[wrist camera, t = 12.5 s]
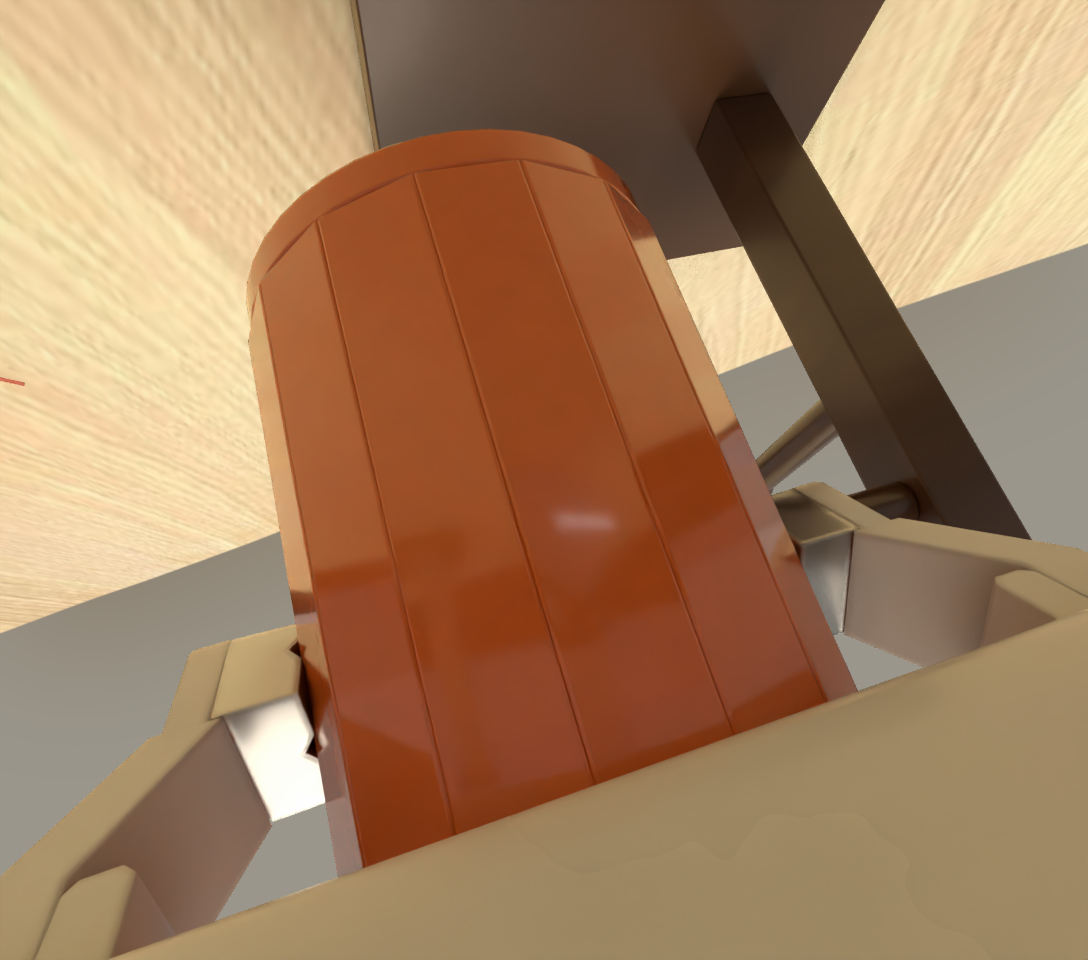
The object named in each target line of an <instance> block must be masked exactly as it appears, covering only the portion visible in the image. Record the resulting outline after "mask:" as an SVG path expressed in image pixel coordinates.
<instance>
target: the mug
mask: <svg viewBox="0 0 1088 960" xmlns="http://www.w3.org/2000/svg"><path fill="white" fill-rule="evenodd" d="M246 304H247V310H248V316H249V322H250V327H251V329H250V334H249V340H248V343H249V349H250V355H251V361H252V367H253V373H254V379H255V385H256V391H257V397H258V403H259V409H260V415H261V421H262V427H263V433H264V439H265V444H266V450H267V456H268V462H269V468H270V474H271V480H272V486H273V492H274V498H275V504H276V510H277V516H278V522H279V528H280V534H281V540H282V546H283V552H284V558H285V564H286V570H287V575H288V582H289V588H290V593H291V600H292V605H293V612H294V618H295V624H296V630H297V636H298V642H299V648H300V654H301V659H302V662H303V668H304V673H305V679H306V685H307V691H308V697H309V703H310V709H311V715H312V721H313V727H314V738H315V744H316V749H317V755H318V761H319V767H320V773H321V779H322V785H323V791H324V797H325V803H326V809H327V815H328V821H329V827H330V833H331V839H332V845H333V851H334V857H335V863H336V869H337V875H338V877H340V876H343V875H346V874H348V873H351V872H354V871H357V870H360V869H362V868H365V867H368V866H371V865H374V864H376V863H379V862H382V861H385V860H388V859H390V858H393V857H396V856H399V855H402V854H404V853H407V852H410V851H413V850H416V849H418V848H421V847H424V846H427V845H430V844H432V843H435V842H438V841H441V840H444V839H446V838H449V837H452V836H455V835H458V834H460V833H463V832H466V831H469V830H472V829H474V828H477V827H480V826H483V825H486V824H488V823H491V822H494V821H497V820H500V819H502V818H505V817H508V816H511V815H514V814H516V813H519V812H522V811H525V810H528V809H530V808H533V807H536V806H539V805H541V804H544V803H547V802H550V801H553V800H555V799H558V798H561V797H564V796H566V795H569V794H572V793H575V792H578V791H580V790H583V789H586V788H589V787H592V786H594V785H597V784H600V783H603V782H605V781H608V780H611V779H614V778H617V777H619V776H622V775H625V774H628V773H630V772H633V771H636V770H639V769H642V768H644V767H647V766H650V765H653V764H656V763H658V762H661V761H664V760H667V759H669V758H672V757H675V756H678V755H681V754H683V753H686V752H689V751H692V750H694V749H697V748H700V747H703V746H706V745H708V744H711V743H714V742H717V741H719V740H722V739H725V738H728V737H731V736H733V735H736V734H739V733H742V732H745V731H747V730H750V729H753V728H756V727H758V726H761V725H764V724H767V723H770V722H772V721H775V720H778V719H781V718H784V717H786V716H789V715H792V714H795V713H798V712H801V711H803V710H806V709H809V708H812V707H815V706H817V705H820V704H823V703H826V702H829V701H831V700H834V699H837V698H840V697H843V696H845V695H848V694H851V693H854V692H857V691H858V690H857V688H856V685H855V683H854V681H853V679H852V677H851V674H850V672H849V670H848V667H847V665H846V663H845V661H844V659H843V656H842V654H841V652H840V650H839V647H838V645H837V643H836V640H835V638H834V636H833V634H832V631H831V629H830V627H829V625H828V622H827V620H826V618H825V616H824V613H823V611H822V609H821V607H820V604H819V602H818V600H817V598H816V595H815V593H814V591H813V589H812V586H811V584H810V582H809V580H808V577H807V575H806V573H805V571H804V568H803V566H802V564H801V562H800V559H799V557H798V555H797V553H796V550H795V548H794V546H793V544H792V541H791V539H790V537H789V535H788V532H787V530H786V528H785V526H784V523H783V521H782V519H781V517H780V514H779V512H778V510H777V508H776V505H775V503H774V501H773V499H772V496H771V494H770V492H769V490H768V487H767V485H766V483H765V481H764V478H763V476H762V474H761V472H760V469H759V467H758V465H757V463H756V460H755V458H754V456H753V454H752V451H751V449H750V447H749V445H748V442H747V440H746V438H745V436H744V433H743V431H742V429H741V427H740V425H739V422H738V420H737V418H736V415H735V413H734V411H733V409H732V407H731V404H730V402H729V400H728V398H727V395H726V393H725V391H724V388H723V386H722V384H721V382H720V379H719V377H718V375H717V373H716V370H715V368H714V366H713V364H712V361H711V359H710V357H709V355H708V352H707V350H706V348H705V346H704V343H703V341H702V339H701V337H700V334H699V332H698V330H697V328H696V325H695V323H694V321H693V319H692V316H691V314H690V312H689V310H688V307H687V305H686V303H685V301H684V298H683V296H682V294H681V292H680V289H679V287H678V285H677V283H676V280H675V278H674V276H673V274H672V271H671V269H670V267H669V265H668V262H667V260H666V258H665V255H664V253H663V251H662V249H661V246H660V244H659V242H658V240H657V237H656V235H655V233H654V231H653V228H652V226H651V224H650V222H649V220H648V219H647V218H646V217H645V216H643V215H642V213H641V211H640V208H639V206H638V204H637V202H636V200H635V198H634V196H633V194H632V193H631V191H630V189H629V187H628V186H627V185H626V184H625V182H624V181H623V180H622V179H621V178H620V176H619V175H618V174H617V173H616V172H615V171H614V170H613V169H611V168H610V167H609V166H608V165H606V164H605V163H604V162H603V161H601V160H600V159H599V158H598V157H596V156H594V155H592V154H590V153H589V152H587V151H585V150H583V149H581V148H579V147H578V146H576V145H573V144H570V143H568V142H565V141H562V140H559V139H556V138H553V137H551V136H546V135H541V134H536V133H531V132H526V131H521V130H505V129H490V128H488V129H470V130H454V131H449V132H443V133H437V134H432V135H426V136H420V137H417V138H414V139H410V140H407V141H403V142H400V143H397V144H393V145H390V146H387V147H384V148H382V149H379V150H377V151H375V152H372V153H370V154H368V155H365V156H363V157H361V158H358V159H356V160H354V161H352V162H350V163H349V164H347V165H345V166H343V167H342V168H340V169H338V170H336V171H335V172H333V173H331V174H329V175H328V176H326V177H325V178H323V179H322V180H321V181H319V182H318V183H317V184H315V185H314V186H313V187H311V188H310V189H309V190H307V191H306V192H305V193H303V194H302V195H301V196H300V197H299V198H298V199H297V200H296V201H295V202H294V203H293V204H292V205H291V206H290V207H289V208H288V209H287V210H286V211H285V212H284V213H283V214H282V215H281V216H280V217H279V218H278V220H277V221H276V222H275V224H274V225H273V226H272V228H271V229H270V231H269V232H268V233H267V235H266V236H265V237H264V239H263V241H262V243H261V246H260V248H259V250H258V252H257V254H256V256H255V258H254V260H253V263H252V266H251V270H250V274H249V278H248V281H247V296H246Z"/></svg>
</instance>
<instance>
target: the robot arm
mask: <svg viewBox="0 0 1088 960" xmlns="http://www.w3.org/2000/svg"><path fill="white" fill-rule="evenodd" d="M771 496H772V499H773V501H774V503H775V505H776V508H777V510H778V512H779V514H780V517H781V519H782V521H783V523H784V526H785V528H786V530H787V532H788V535H789V537H790V539H791V541H792V544H793V546H794V548H795V550H796V553H797V555H798V557H799V559H800V562H801V564H802V566H803V568H804V571H805V573H806V575H807V577H808V580H809V582H810V584H811V586H812V589H813V591H814V593H815V595H816V598H817V600H818V602H819V604H820V607H821V609H822V611H823V613H824V616H825V618H826V620H827V622H828V625H829V627H830V629H831V631H832V634H833V635H835V634H838V633H842V632H844V635H846V636H849V637H851V638H854V639H856V640H858V641H861V642H863V643H866V644H868V645H871V646H873V647H875V648H878V649H880V650H883V651H885V652H887V653H890V654H892V655H895V656H897V657H899V658H902V659H904V660H907V661H909V662H911V663H914V664H916V665H919V666H921V667H923V668H921V669H919V670H916V671H913V672H910V673H907V674H904V675H902V676H899V677H896V678H893V679H890V680H888V681H885V682H882V683H879V684H876V685H874V686H871V687H868V688H865V689H862V690H860V691H857V692H854V693H851V694H848V695H845V696H843V697H840V698H837V699H834V700H831V701H829V702H826V703H823V704H820V705H817V706H815V707H812V708H809V709H806V710H803V711H801V712H798V713H795V714H792V715H789V716H786V717H784V718H781V719H778V720H775V721H772V722H770V723H767V724H764V725H761V726H758V727H756V728H753V729H750V730H747V731H745V732H742V733H739V734H736V735H733V736H731V737H728V738H725V739H722V740H719V741H717V742H714V743H711V744H708V745H706V746H703V747H700V748H697V749H694V750H692V751H689V752H686V753H683V754H681V755H678V756H675V757H672V758H669V759H667V760H664V761H661V762H658V763H656V764H653V765H650V766H647V767H644V768H642V769H639V770H636V771H633V772H630V773H628V774H625V775H622V776H619V777H617V778H614V779H611V780H608V781H605V782H603V783H600V784H597V785H594V786H592V787H589V788H586V789H583V790H580V791H578V792H575V793H572V794H569V795H566V796H564V797H561V798H558V799H555V800H553V801H550V802H547V803H544V804H541V805H539V806H536V807H533V808H530V809H528V810H525V811H522V812H519V813H516V814H514V815H511V816H508V817H505V818H502V819H500V820H497V821H494V822H491V823H488V824H486V825H483V826H480V827H477V828H474V829H472V830H469V831H466V832H463V833H460V834H458V835H455V836H452V837H449V838H446V839H444V840H441V841H438V842H435V843H432V844H430V845H427V846H424V847H421V848H418V849H416V850H413V851H410V852H407V853H404V854H402V855H399V856H396V857H393V858H390V859H388V860H385V861H382V862H379V863H376V864H374V865H371V866H368V867H365V868H362V869H360V870H357V871H354V872H351V873H348V874H346V875H343V876H340V877H337V878H334V879H332V880H329V881H326V882H323V883H320V884H318V885H315V886H312V887H309V888H307V889H304V890H301V891H298V892H296V893H292V894H290V895H287V896H284V897H282V898H278V899H276V900H273V901H270V902H267V903H265V904H262V905H259V906H256V907H253V908H250V909H248V910H245V911H242V912H239V913H236V914H234V915H231V916H228V917H226V918H223V919H220V920H217V921H215V920H216V918H217V917H218V915H219V913H220V912H221V910H222V908H223V907H224V905H225V903H226V902H227V900H228V898H229V897H230V895H231V893H232V892H233V890H234V888H235V887H236V885H237V883H238V882H239V880H240V878H241V877H242V875H243V873H244V872H245V870H246V868H247V867H248V865H249V863H250V862H251V860H252V859H253V857H254V855H255V853H256V852H257V850H258V849H259V847H260V845H261V844H262V842H263V840H264V839H265V837H266V835H267V834H268V832H269V830H270V829H271V827H272V825H271V822H273V821H276V820H279V819H282V818H284V817H287V816H290V815H293V814H296V813H298V812H301V811H304V810H307V809H309V808H312V807H315V806H318V805H320V804H323V803H325V797H324V791H323V785H322V779H321V773H320V767H319V761H318V755H317V749H316V744H315V738H314V727H313V721H312V715H311V709H310V703H309V697H308V691H307V685H306V679H305V673H304V668H303V662H302V659H301V654H300V648H299V642H298V636H297V630H296V624H294V625H289V626H286V627H281V628H278V629H273V630H269V631H265V632H262V633H257V634H253V635H249V636H245V637H241V638H237V639H234V640H233V641H231V640H228V641H225V642H221V643H218V644H214V645H211V646H207V647H204V648H200V649H196V650H195V651H193V652H192V653H190V655H189V656H188V659H187V662H186V665H185V668H184V671H183V673H182V676H181V679H180V682H179V685H178V688H177V691H176V694H175V697H174V700H173V703H172V705H171V708H170V711H169V714H168V717H167V720H166V723H165V726H164V729H163V732H162V735H159V736H156V737H152V738H149V739H148V740H147V741H146V742H145V743H143V744H142V745H141V746H140V747H139V748H138V749H137V750H136V751H135V752H134V753H133V754H132V755H131V756H129V757H128V758H127V759H126V760H125V761H124V762H123V763H122V764H121V765H120V766H119V767H118V768H117V769H115V771H113V772H112V773H111V774H110V775H109V776H108V777H107V778H106V779H105V780H104V781H103V782H101V783H100V784H99V785H98V786H97V787H96V788H95V789H94V790H93V791H92V792H91V793H90V794H89V795H88V796H86V797H85V798H84V799H83V800H82V801H81V802H80V803H79V804H78V805H77V806H76V807H75V808H73V809H72V810H71V811H70V812H69V813H68V814H67V815H66V816H65V817H64V818H63V819H62V820H61V821H59V823H57V824H56V825H55V826H54V827H53V828H52V829H51V830H50V831H49V832H48V833H47V834H46V835H44V836H43V837H42V838H41V839H40V840H39V841H38V842H37V843H36V844H35V845H34V846H33V847H31V848H30V849H29V850H28V851H27V852H26V853H25V854H24V855H23V856H22V857H21V858H20V859H19V860H18V861H17V862H15V863H14V864H13V865H12V866H11V867H10V868H9V869H8V870H7V871H6V872H5V873H4V874H2V875H1V876H0V960H1088V553H1087V552H1085V551H1083V550H1081V549H1078V548H1074V547H1068V546H1062V545H1056V544H1051V543H1045V542H1039V541H1033V540H1027V539H1021V538H1015V537H1009V536H1004V535H998V534H992V533H986V532H980V531H974V530H968V529H962V528H956V527H951V526H945V525H939V524H933V523H927V522H921V521H915V520H909V519H903V518H896V519H893V520H890V519H888V518H886V517H884V516H883V515H881V514H879V513H877V512H875V511H874V510H872V509H870V508H868V507H866V506H865V505H863V504H861V503H859V502H858V501H856V500H854V499H852V498H850V497H849V496H847V495H845V494H843V493H841V492H840V491H838V490H836V489H834V488H832V487H831V486H829V485H827V484H825V483H823V482H812V483H808V484H806V485H802V486H799V487H796V488H792V489H789V490H787V491H784V492H780V493H777V494H774V495H771Z"/></svg>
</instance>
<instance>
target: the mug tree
mask: <svg viewBox="0 0 1088 960" xmlns="http://www.w3.org/2000/svg"><path fill="white" fill-rule="evenodd" d="M884 1H885V0H350V4H351V10H352V16H353V22H354V28H355V34H356V40H357V46H358V53H359V59H360V65H361V71H362V77H363V83H364V89H365V95H366V101H367V108H368V114H369V120H370V126H371V132H372V138H373V144H374V150H375V151H377V150H379V149H382V148H384V147H387V146H390V145H393V144H397V143H400V142H403V141H407V140H410V139H414V138H417V137H420V136H426V135H432V134H437V133H443V132H449V131H454V130H470V129H488V128H490V129H505V130H521V131H526V132H531V133H536V134H541V135H546V136H551V137H553V138H556V139H559V140H562V141H565V142H568V143H570V144H573V145H576V146H578V147H579V148H581V149H583V150H585V151H587V152H589V153H590V154H592V155H594V156H596V157H598V158H599V159H600V160H601V161H603V162H604V163H605V164H606V165H608V166H609V167H610V168H611V169H613V170H614V171H615V172H616V173H617V174H618V175H619V176H620V178H621V179H622V180H623V181H624V182H625V184H626V185H627V186H628V187H629V189H630V191H631V193H632V194H633V196H634V198H635V200H636V202H637V204H638V206H639V208H640V211H641V213H642V215H643V216H645V217H646V218H647V219H648V220H649V222H650V224H651V226H652V228H653V231H654V233H655V235H656V237H657V240H658V242H659V244H660V246H661V249H662V251H663V253H664V255H665V258H666V260H669V259H674V258H680V257H685V256H691V255H697V254H702V253H708V252H713V251H719V250H725V249H730V248H736V247H741V246H743V247H744V249H745V251H746V253H747V255H748V257H749V259H750V261H751V263H752V265H753V267H754V269H755V271H756V273H757V275H758V277H759V279H760V281H761V283H762V285H763V287H764V289H765V291H766V293H767V294H768V296H769V298H770V300H771V302H772V304H773V306H774V308H775V310H776V312H777V314H778V316H779V318H780V320H781V322H782V324H783V326H784V328H785V330H786V332H787V334H788V336H789V338H790V340H791V342H792V344H793V346H794V348H795V350H796V352H797V354H798V356H799V358H800V360H801V362H802V364H803V365H804V368H805V370H806V371H807V373H808V375H809V377H810V379H811V381H812V383H813V385H814V387H815V389H816V391H817V393H818V395H819V397H820V400H819V401H818V402H817V403H816V404H815V405H814V406H813V407H812V408H810V409H809V410H808V411H807V412H806V413H805V414H804V415H803V416H802V417H801V418H800V419H799V420H798V421H797V422H796V423H795V424H793V425H792V427H790V428H789V429H788V430H787V431H786V432H785V433H784V434H783V435H782V436H781V437H780V438H779V439H778V440H777V441H775V442H774V444H773V445H771V446H770V447H769V448H768V449H767V450H766V451H765V452H764V453H763V454H762V455H761V456H760V457H759V458H757V459H756V463H757V465H758V467H759V469H760V472H761V474H762V476H763V478H764V481H765V483H766V485H767V487H768V490H769V492H770V494H772V492H773V488H774V487H775V486H776V485H777V484H779V483H780V482H781V481H782V480H784V479H785V478H786V477H787V476H789V475H790V474H791V473H793V472H794V471H795V470H796V469H797V468H799V467H800V466H801V465H803V464H804V463H805V462H806V461H807V460H809V459H810V458H811V457H812V456H814V455H815V454H816V453H818V452H819V451H820V450H821V449H823V448H824V447H825V446H826V445H828V444H829V443H830V442H831V441H833V440H834V439H835V438H836V437H838V436H839V437H840V438H841V441H842V442H843V444H844V447H845V449H846V450H847V453H848V455H849V456H850V458H851V460H852V462H853V464H854V466H855V468H856V470H857V472H858V474H859V476H860V478H861V480H862V482H863V484H864V486H865V488H866V490H865V491H861V492H857V493H854V494H850V495H847V496H849V497H850V498H852V499H854V500H856V501H858V502H859V503H861V504H863V505H865V506H866V507H868V508H870V509H872V510H874V511H875V512H877V513H879V514H881V515H883V516H884V517H886V518H888V519H890V520H893V519H896V518H903V519H909V520H915V521H921V522H927V523H933V524H939V525H945V526H951V527H956V528H962V529H968V530H974V531H980V532H986V533H992V534H998V535H1004V536H1009V537H1015V538H1021V539H1027V540H1032V539H1031V538H1030V536H1029V534H1028V532H1027V531H1026V529H1025V527H1024V525H1023V524H1022V522H1021V520H1020V519H1019V517H1018V515H1017V513H1016V512H1015V510H1014V508H1013V507H1012V505H1011V503H1010V502H1009V500H1008V499H1007V496H1006V495H1005V493H1004V491H1003V490H1002V488H1001V486H1000V485H999V483H998V481H997V479H996V478H995V476H994V474H993V472H992V471H991V469H990V467H989V466H988V464H987V462H986V460H985V459H984V457H983V455H982V454H981V452H980V450H979V449H978V447H977V445H976V443H975V442H974V440H973V438H972V437H971V435H970V433H969V431H968V430H967V428H966V426H965V424H964V423H963V421H962V419H961V418H960V416H959V414H958V412H957V411H956V409H955V407H954V406H953V404H952V402H951V401H950V399H949V397H948V395H947V394H946V392H945V390H944V388H943V387H942V385H941V383H940V382H939V380H938V378H937V376H936V375H935V374H934V371H933V370H932V368H931V366H930V365H929V363H928V361H927V359H926V358H925V356H924V354H923V352H922V351H921V349H920V347H919V346H918V344H917V342H916V340H915V339H914V337H913V335H912V334H911V332H910V330H909V329H908V327H907V325H906V323H905V322H904V320H903V318H902V316H901V315H900V313H899V311H898V310H897V308H896V306H895V304H894V303H893V301H892V299H891V298H890V296H889V294H888V292H887V291H886V289H885V287H884V286H883V284H882V282H881V280H880V279H879V277H878V275H877V274H876V272H875V270H874V268H873V267H872V265H871V263H870V262H869V260H868V258H867V256H866V255H865V253H864V251H863V250H862V248H861V246H860V244H859V243H858V241H857V239H856V238H855V236H854V234H853V232H852V231H851V229H850V227H849V226H848V224H847V222H846V220H845V219H844V217H843V215H842V214H841V212H840V210H839V208H838V207H837V205H836V203H835V202H834V200H833V198H832V196H831V195H830V193H829V191H828V190H827V188H826V186H825V184H824V183H823V181H822V179H821V178H820V176H819V174H818V173H817V171H816V169H815V167H814V166H813V164H812V162H811V161H810V159H809V157H808V155H807V154H806V152H805V150H804V149H803V147H802V145H803V144H804V142H805V140H806V138H807V136H808V135H809V133H810V131H811V129H812V128H813V126H814V124H815V122H816V121H817V119H818V117H819V115H820V114H821V112H822V110H823V108H824V107H825V105H826V103H827V101H828V100H829V98H830V96H831V94H832V93H833V91H834V89H835V87H836V86H837V84H838V82H839V80H840V78H841V77H842V75H843V73H844V71H845V70H846V68H847V66H848V64H849V63H850V61H851V59H852V57H853V56H854V54H855V52H856V50H857V49H858V47H859V45H860V43H861V42H862V40H863V38H864V36H865V35H866V33H867V31H868V29H869V28H870V26H871V24H872V22H873V21H874V19H875V17H876V15H877V13H878V12H879V10H880V8H881V6H882V5H883V3H884Z"/></svg>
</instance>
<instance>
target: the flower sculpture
mask: <svg viewBox="0 0 1088 960" xmlns="http://www.w3.org/2000/svg"><path fill="white" fill-rule="evenodd" d="M0 381H4V382H9V383H13V384H18V385H22V386H25V383H24V382H19V381H15V380H10V379H5V378H1V377H0Z"/></svg>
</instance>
